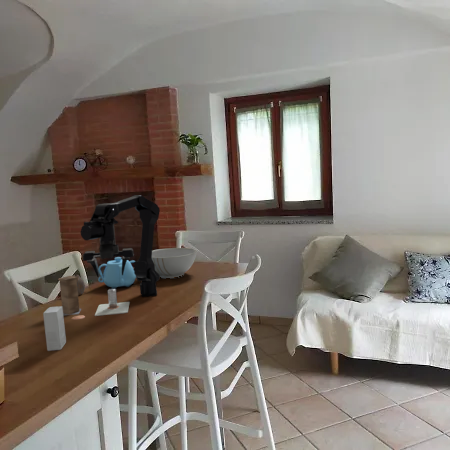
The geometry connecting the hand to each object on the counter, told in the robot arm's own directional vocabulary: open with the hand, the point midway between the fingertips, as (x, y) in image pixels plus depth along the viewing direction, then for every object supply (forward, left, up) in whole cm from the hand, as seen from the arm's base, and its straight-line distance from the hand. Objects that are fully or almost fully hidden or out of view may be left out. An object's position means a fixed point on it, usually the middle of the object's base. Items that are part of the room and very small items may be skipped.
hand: (110, 276), depth 173 cm
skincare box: (+14, +36, -13) cm, 41 cm away
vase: (+18, -28, -13) cm, 36 cm away
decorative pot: (0, -38, -13) cm, 40 cm away
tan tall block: (+16, 0, -13) cm, 20 cm away
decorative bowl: (-25, -49, -13) cm, 57 cm away
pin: (0, 0, -12) cm, 13 cm away
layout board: (+6, +2, -13) cm, 14 cm away
